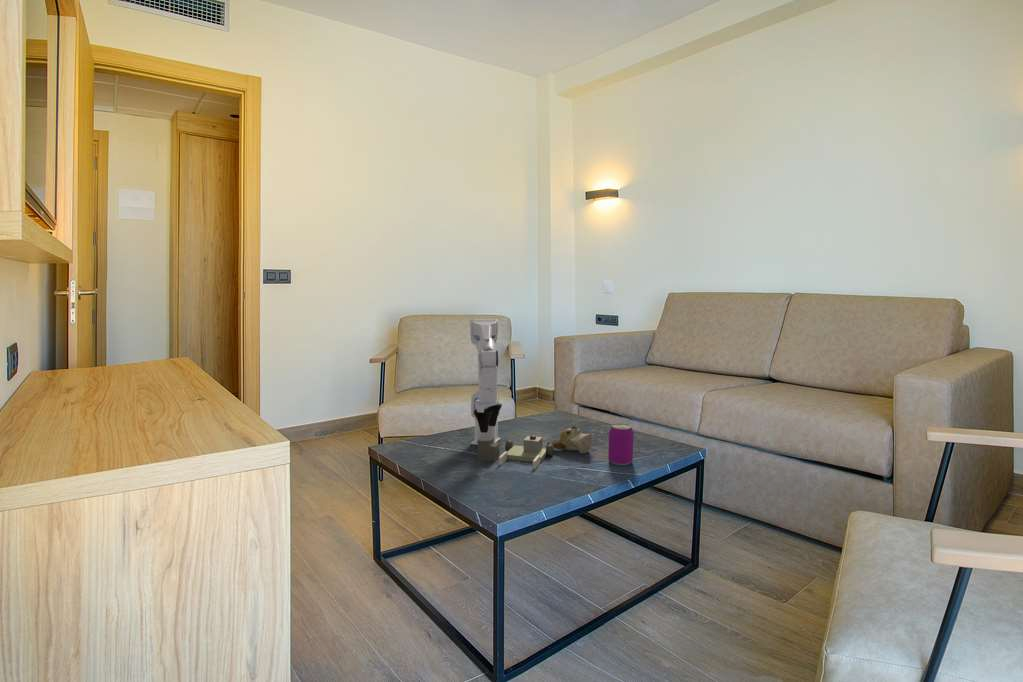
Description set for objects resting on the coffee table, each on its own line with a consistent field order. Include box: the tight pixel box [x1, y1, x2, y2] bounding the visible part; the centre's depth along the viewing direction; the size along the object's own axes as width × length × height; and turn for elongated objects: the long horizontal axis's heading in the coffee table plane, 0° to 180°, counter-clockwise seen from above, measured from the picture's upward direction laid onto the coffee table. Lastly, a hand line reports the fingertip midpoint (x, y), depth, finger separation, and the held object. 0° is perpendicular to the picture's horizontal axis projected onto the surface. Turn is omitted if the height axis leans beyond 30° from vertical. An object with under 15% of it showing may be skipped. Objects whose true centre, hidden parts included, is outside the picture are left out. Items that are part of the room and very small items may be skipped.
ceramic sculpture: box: [546, 426, 593, 455], centre depth 193 cm, size 11×9×15 cm
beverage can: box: [607, 422, 635, 466], centre depth 181 cm, size 8×8×12 cm
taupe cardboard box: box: [477, 437, 500, 463], centre depth 184 cm, size 4×6×6 cm, turn 72°
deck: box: [498, 434, 555, 470], centre depth 184 cm, size 16×16×6 cm
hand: (488, 429), depth 183 cm, fingers open, 7 cm apart
